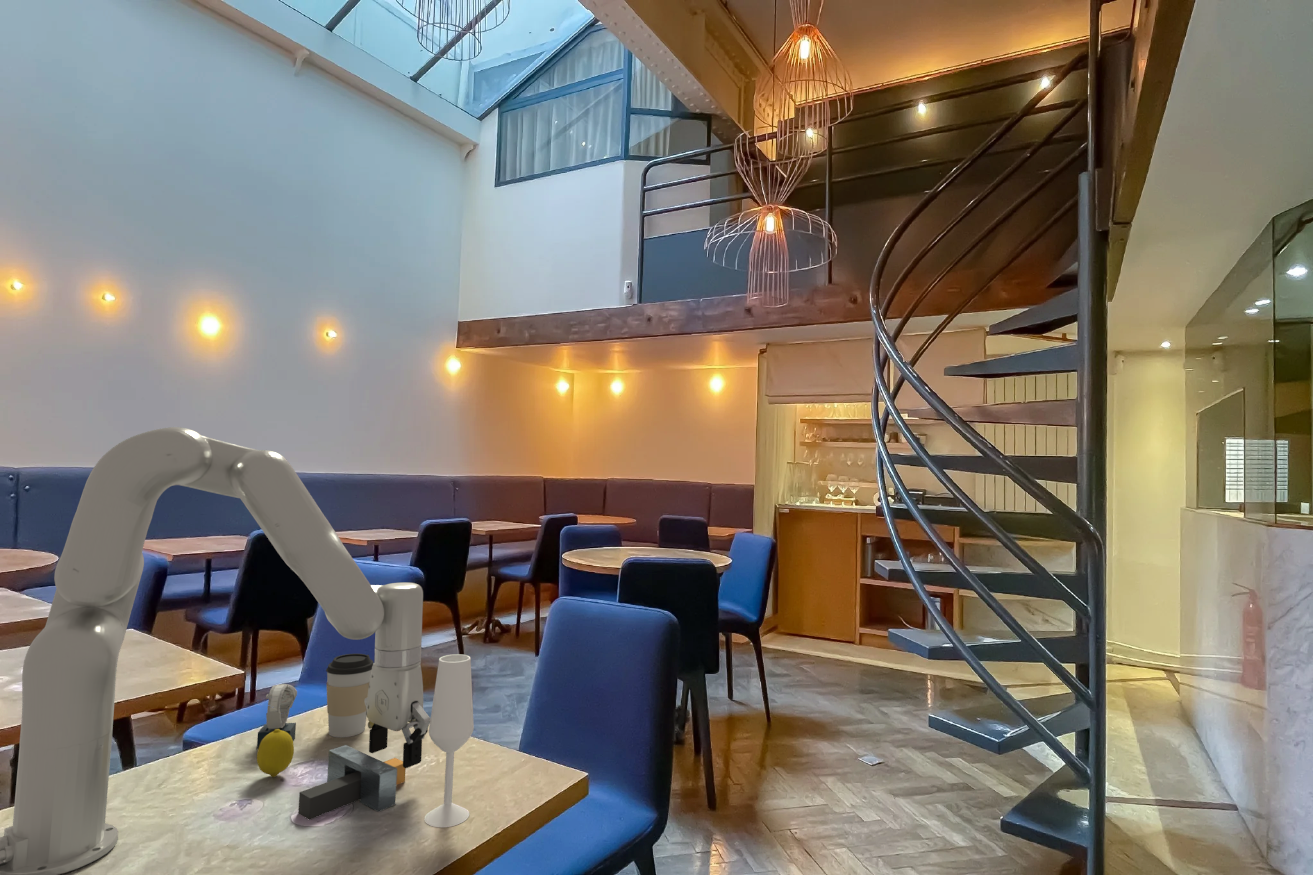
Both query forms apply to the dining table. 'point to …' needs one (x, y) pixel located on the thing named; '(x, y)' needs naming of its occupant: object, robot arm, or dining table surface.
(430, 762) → the dining table surface
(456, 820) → the champagne flute
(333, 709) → the coffee cup
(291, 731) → the watch
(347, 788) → the plug
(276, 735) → the lemon
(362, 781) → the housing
